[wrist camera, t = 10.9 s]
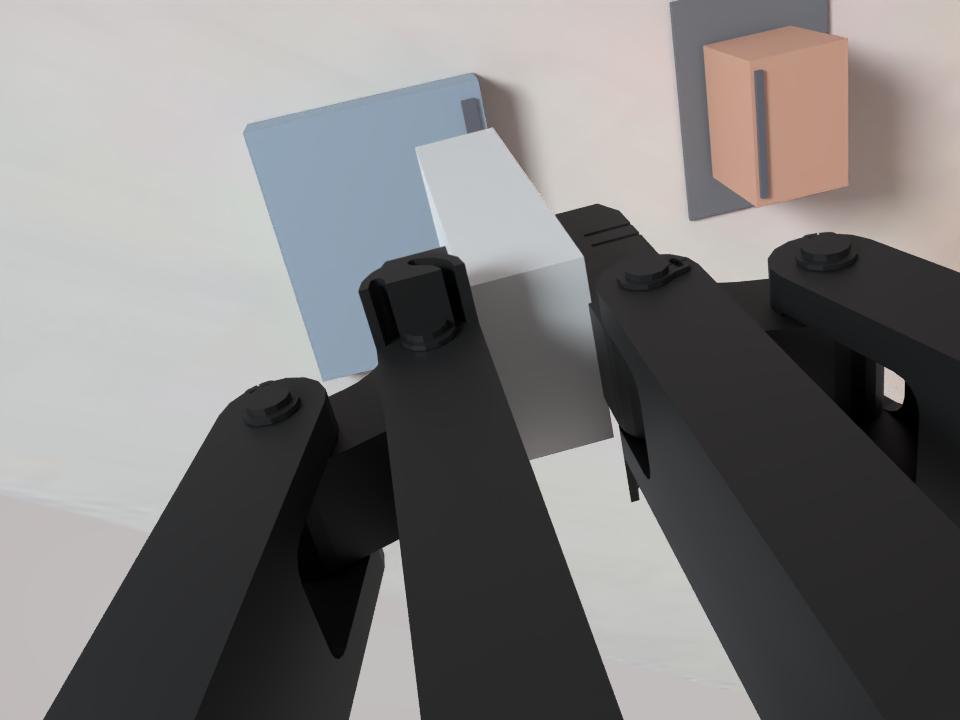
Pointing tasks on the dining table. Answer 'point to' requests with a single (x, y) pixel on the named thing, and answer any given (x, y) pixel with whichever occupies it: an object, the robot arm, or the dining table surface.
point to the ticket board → (354, 200)
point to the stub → (778, 113)
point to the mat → (697, 22)
